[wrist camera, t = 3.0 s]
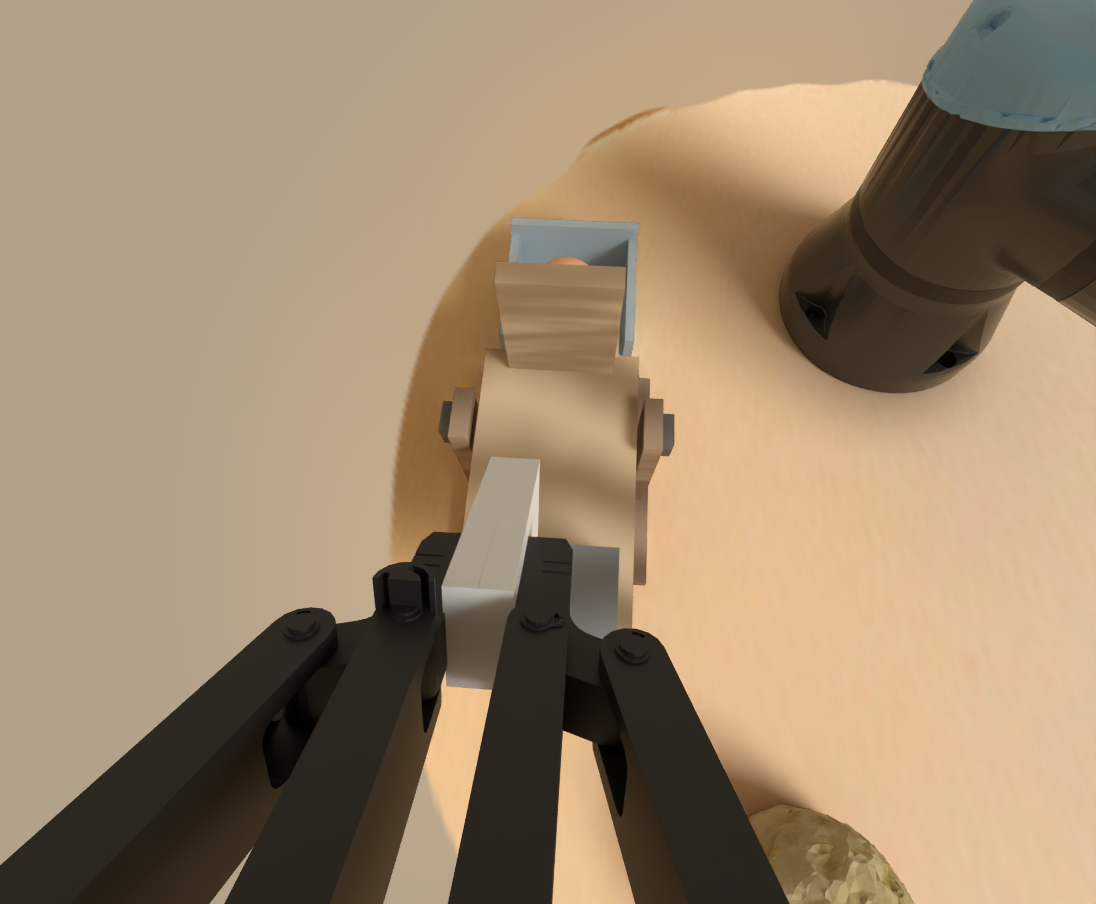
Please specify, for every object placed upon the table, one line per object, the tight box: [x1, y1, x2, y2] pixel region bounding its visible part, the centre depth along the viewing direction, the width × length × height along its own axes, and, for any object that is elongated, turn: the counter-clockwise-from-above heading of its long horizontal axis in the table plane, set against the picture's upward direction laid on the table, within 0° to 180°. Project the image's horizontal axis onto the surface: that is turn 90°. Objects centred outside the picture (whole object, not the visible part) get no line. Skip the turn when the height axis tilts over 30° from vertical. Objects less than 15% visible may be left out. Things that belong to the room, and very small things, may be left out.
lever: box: [462, 261, 639, 639], centre depth 30 cm, size 22×9×9 cm, turn 175°
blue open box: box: [499, 218, 639, 357], centre depth 45 cm, size 9×9×6 cm
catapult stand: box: [439, 378, 674, 585], centre depth 38 cm, size 15×13×10 cm
